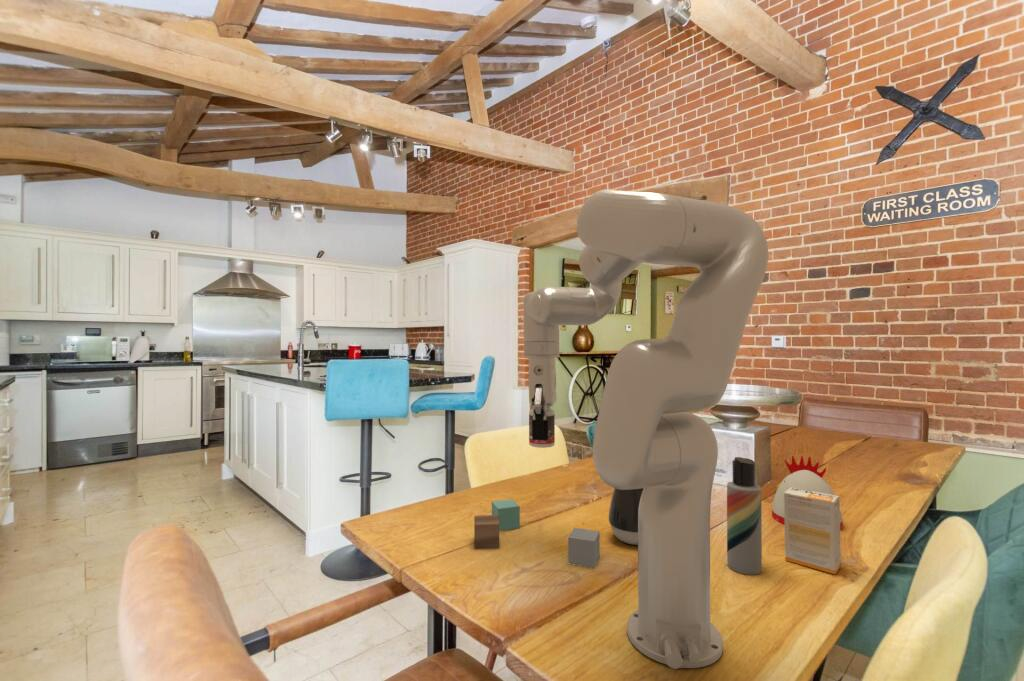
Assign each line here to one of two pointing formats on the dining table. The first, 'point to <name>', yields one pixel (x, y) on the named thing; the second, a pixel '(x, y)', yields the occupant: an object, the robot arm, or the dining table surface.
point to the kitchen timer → (800, 485)
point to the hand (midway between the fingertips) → (542, 435)
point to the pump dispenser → (625, 514)
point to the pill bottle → (551, 429)
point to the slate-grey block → (584, 547)
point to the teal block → (507, 514)
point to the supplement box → (812, 529)
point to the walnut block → (486, 532)
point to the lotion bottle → (744, 519)
